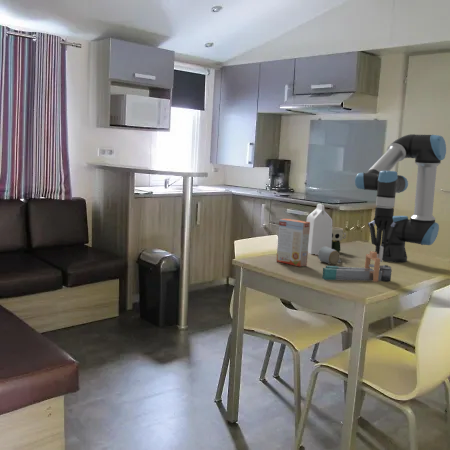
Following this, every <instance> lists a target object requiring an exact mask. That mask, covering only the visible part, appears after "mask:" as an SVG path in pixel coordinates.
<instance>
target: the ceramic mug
mask: <svg viewBox="0 0 450 450" xmlns="http://www.w3.org/2000/svg"><path fill="white" fill-rule="evenodd" d="M317 256H318V260H319V261H320V262H321V263H326V264H329V265H336V264H337V263H339V264H340V263H341V262H342V260H341V259H340V253H339V252H337V251H336V250H334V249H331V248H329V247H326V246H324V247H322V248H321V249H320V250H319V253H318V255H317Z"/></svg>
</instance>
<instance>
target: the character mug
mask: <svg viewBox="0 0 450 450" xmlns="http://www.w3.org/2000/svg"><path fill="white" fill-rule="evenodd" d="M346 238H347V233H346V232H344V228H341V227H333V226H332V248H331V249H334V250H336V251H337V252H338V253H339V252H341V241H342V240H343V239H346Z"/></svg>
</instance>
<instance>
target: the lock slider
mask: <svg viewBox="0 0 450 450" xmlns="http://www.w3.org/2000/svg"><path fill="white" fill-rule="evenodd" d="M371 260H372V261H374V263H373V265H374V267H373V270H374V274H373V281H372V282H373V283H378V282H379V281H378V277H379V270H380V268H379V267H380V266H381V262H380V259H379V258H377V252H375V251H374V250H373V251H372V250H370V251H369V253H366V254H365V262H364V268H371V267H369V264H371V262H372V261H371Z"/></svg>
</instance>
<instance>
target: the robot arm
mask: <svg viewBox="0 0 450 450" xmlns="http://www.w3.org/2000/svg"><path fill="white" fill-rule="evenodd" d="M446 154H447V145H446V141H445V138H444V137H443V136H442V135H437V134H415V133H414V134H406V135H404V136H401V137H399V138H397V139H395V140H394V141H392V142H391V143H390V144H389V145H388V146H387V148H386V152H384V153H383V155H381V157H380V158H378V160H377V161H376V162H374V164H373V165H372V166H370V168H369V169H368V170H367V171H366V172H359V173H357V174H356V175H355V179H354V184H355V187H356V189H359V190H365V191H376V192H377V193H376V199H375V206H376V207H375V210H374V218H373V220H372V221H370V222H369V221H368V222H367V225H368V228H369V232H370V233H369V234H370V241H371V244H372V245H373V246H375V249H374V250H375V252H377V258H379V259H380V263H383V262H388V263H397V264H398V263H403V264H404V263H406V262H407V261H408V254H407V250H406V243H411V244H415V245H416V244H417V245H421V246H431V245H433V244H434V243H435V241H436V240H437V238H438V235H439V230H440V225H439V223H438V222H436V217H435V216H433V212H434V201H435V192H436V191H435V189H436V188H435V187H436V179H437V178H436V177H437V169H438V168H437V167H438V166H439V165H440V164H442V163H441V162H442V161H443V160H444V159H445V158H446ZM404 159H414V163H415V164H416V165H417V173H416V187H415V196H414V197H415V198H414V209H413V214H412V215H411V216H410V219H409V217H408V216H407V215H394V211H395V209H394V207H395V202H396V194H400V193H403V192H405V191H406V190H407V188H408V186H409V181H408V179H407V178H406V176H403V175H399V174H398V171H394V170H392V169H394V168H395V166H396V165H397V164H398V162H402V161H403V160H404ZM375 227H376V228H375Z"/></svg>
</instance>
